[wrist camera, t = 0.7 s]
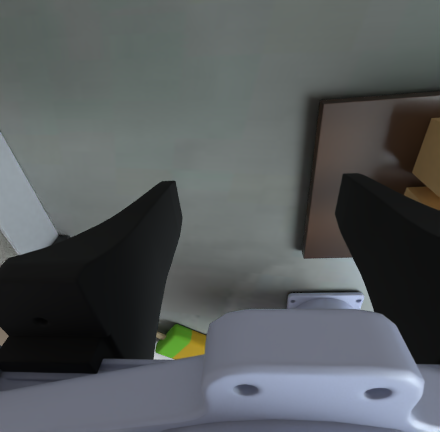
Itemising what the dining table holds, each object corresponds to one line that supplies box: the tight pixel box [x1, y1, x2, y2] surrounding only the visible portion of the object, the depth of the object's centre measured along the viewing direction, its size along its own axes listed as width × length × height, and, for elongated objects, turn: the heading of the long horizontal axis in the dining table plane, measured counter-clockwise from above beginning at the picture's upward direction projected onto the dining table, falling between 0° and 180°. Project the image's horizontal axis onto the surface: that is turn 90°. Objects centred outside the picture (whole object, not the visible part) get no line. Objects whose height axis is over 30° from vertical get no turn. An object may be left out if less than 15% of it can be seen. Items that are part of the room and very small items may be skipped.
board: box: [302, 91, 440, 259], centre depth 21 cm, size 14×18×1 cm
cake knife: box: [0, 132, 70, 255], centre depth 24 cm, size 19×2×4 cm, turn 5°
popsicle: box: [155, 324, 206, 360], centre depth 36 cm, size 6×15×2 cm, turn 58°
